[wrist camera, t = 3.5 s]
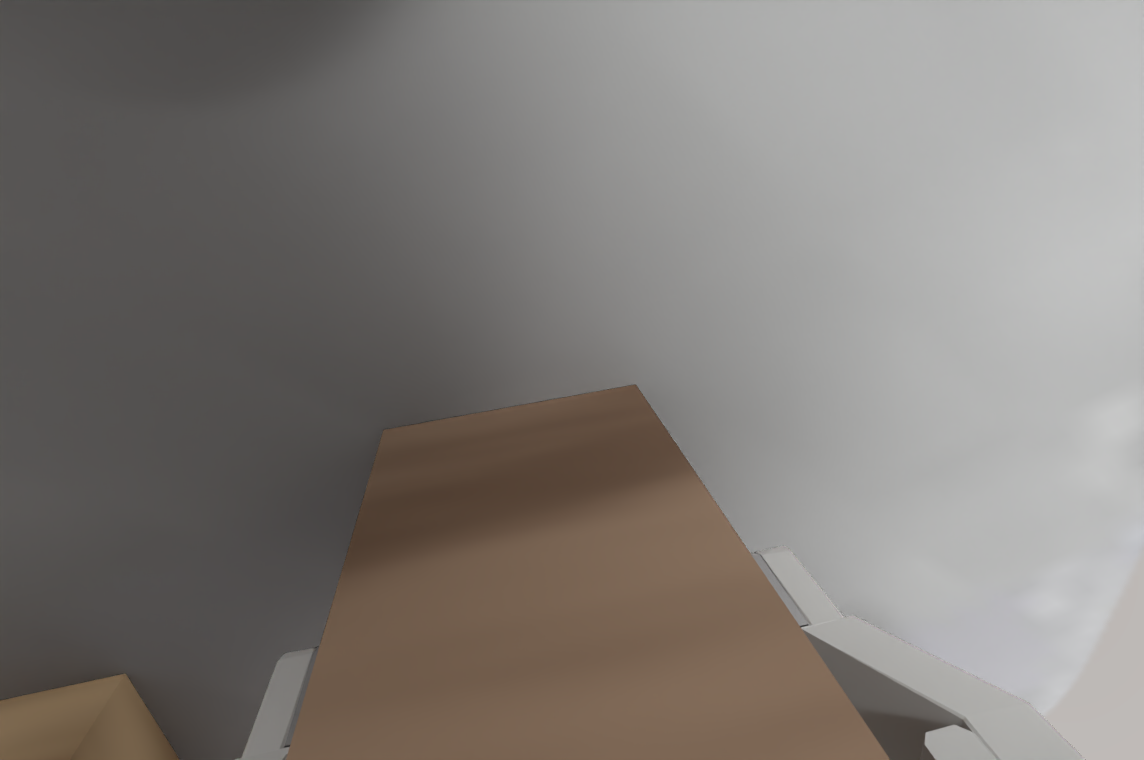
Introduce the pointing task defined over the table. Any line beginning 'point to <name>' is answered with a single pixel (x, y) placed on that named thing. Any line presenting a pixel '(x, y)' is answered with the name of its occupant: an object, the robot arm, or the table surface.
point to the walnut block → (560, 606)
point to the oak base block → (82, 724)
